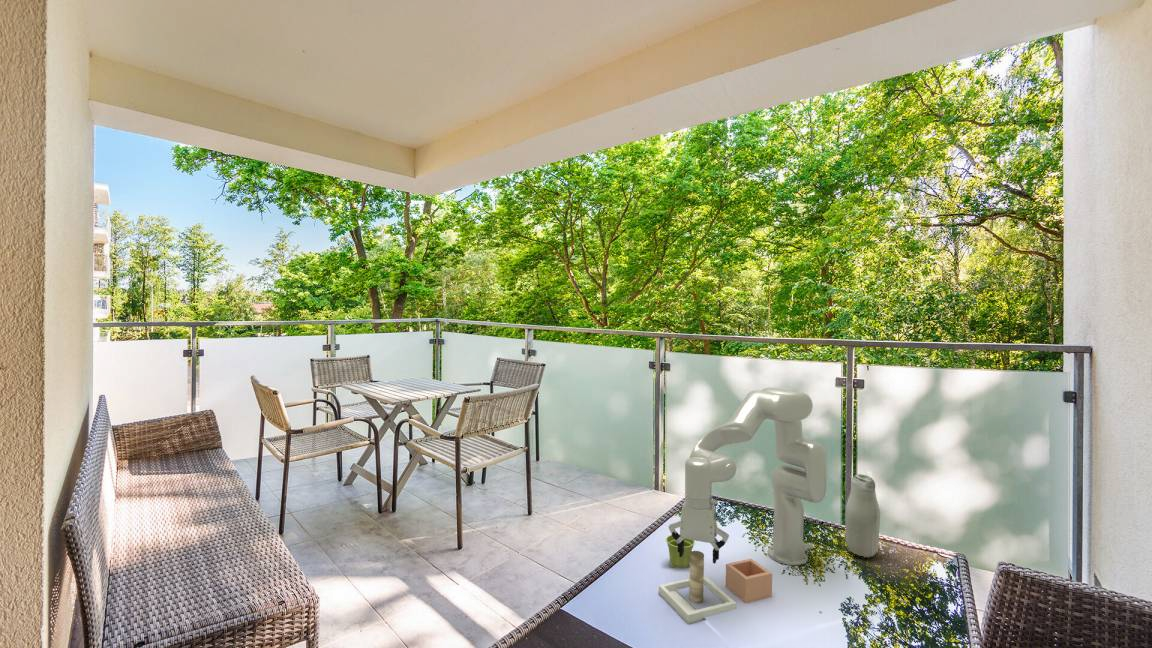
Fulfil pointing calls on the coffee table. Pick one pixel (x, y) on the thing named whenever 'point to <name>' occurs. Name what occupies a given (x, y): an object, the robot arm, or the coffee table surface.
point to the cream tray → (686, 608)
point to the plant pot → (674, 553)
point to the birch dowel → (696, 576)
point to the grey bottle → (862, 517)
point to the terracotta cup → (748, 580)
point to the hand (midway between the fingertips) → (698, 558)
